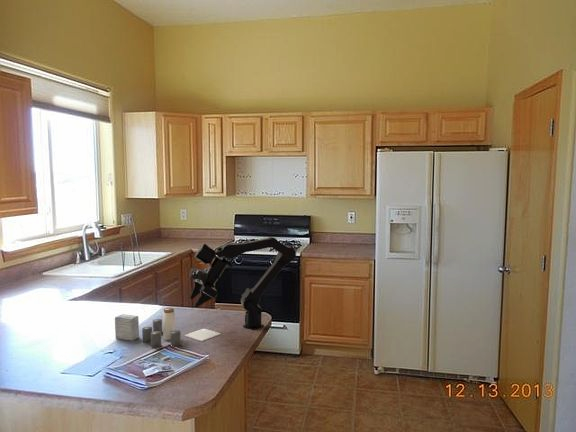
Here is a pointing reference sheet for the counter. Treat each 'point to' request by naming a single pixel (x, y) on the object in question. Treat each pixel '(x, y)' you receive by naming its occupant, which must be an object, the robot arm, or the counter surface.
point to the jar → (168, 323)
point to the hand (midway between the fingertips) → (193, 302)
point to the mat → (202, 334)
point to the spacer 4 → (175, 338)
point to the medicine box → (126, 327)
